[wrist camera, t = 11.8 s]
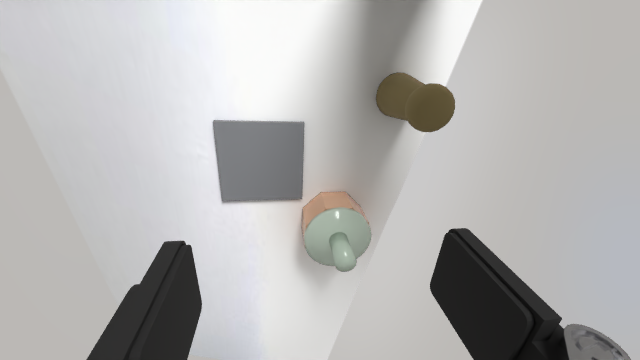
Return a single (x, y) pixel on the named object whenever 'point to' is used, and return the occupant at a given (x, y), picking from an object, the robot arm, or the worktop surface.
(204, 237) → the worktop surface
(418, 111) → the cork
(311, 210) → the bowl
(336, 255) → the lid
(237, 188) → the mat
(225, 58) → the worktop surface
